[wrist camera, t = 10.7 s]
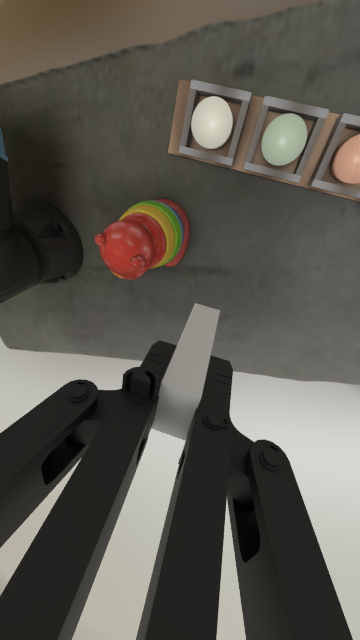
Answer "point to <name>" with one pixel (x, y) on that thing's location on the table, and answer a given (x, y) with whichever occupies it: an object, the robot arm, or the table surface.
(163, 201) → the stacking bear
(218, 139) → the ivory button
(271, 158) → the sage button
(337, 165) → the terracotta button
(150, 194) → the table surface
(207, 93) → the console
